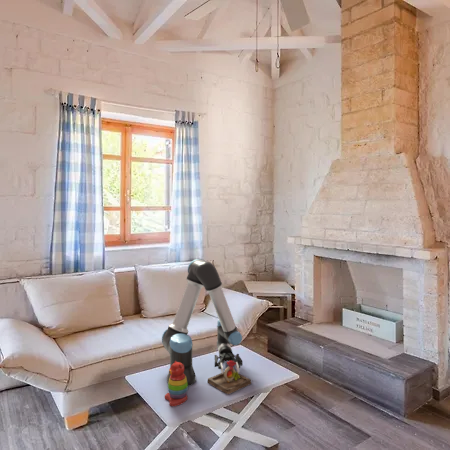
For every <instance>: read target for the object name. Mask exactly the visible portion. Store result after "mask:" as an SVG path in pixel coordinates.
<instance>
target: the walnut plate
mask: <svg viewBox="0 0 450 450" xmlns="http://www.w3.org/2000/svg"><path fill="white" fill-rule="evenodd" d="M230 371H232V370H230ZM238 375H239V376H240V378H238V379H237V380H235V379H234V378H233V380H231V381H230V382H229V383H228V382H227V381H226V380H225V378H224V371H223V373H221V372H220V373H218V374H216V375H214V376H211V377H208V378H207V384H209V385H211V386H213V387H214V388H216V389H218V390H219V391H220V392H223V393H225V394H226V395H230V394H232V393H235V392H236V391H239V390H241V389H244V388H245V387H248V386H250V385H252V380H251V379H250V378H248V377H247V376H244V375H243V374H240V373H238Z"/></svg>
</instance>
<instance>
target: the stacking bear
mask: <svg viewBox="0 0 450 450" xmlns="http://www.w3.org/2000/svg"><path fill="white" fill-rule="evenodd" d="M168 373H170V374H171V375H170V378H169V382H168V383H167V390H168V392H167V393H165V395H164V399H165V400H167V401H168V402H169V404H168V405H169V406H170V407H177V405H178V406H180V405H183V404H184V403H186V401H187V400H188V395H187V393H188V389H189V388H188V387H189V386H188V383H187V378H186V376H185V374H184V365H183V364H182V363H180V362H177V361H175V362H174V363H173V364H172V365H171V367H169V369H168Z"/></svg>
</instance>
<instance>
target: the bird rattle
mask: <svg viewBox="0 0 450 450" xmlns="http://www.w3.org/2000/svg"><path fill="white" fill-rule="evenodd" d="M226 364H227V367H226V368H225V369H224V370H223V372H224V378H225V380H226V381H227V382H228V383H229V382H230V381H231V380H233V378H234V379H235V380H237V379H238V378H240V376H239V375H238V374H239V373H238V372H237V370H236V369H235V366H236V363H235V362H234V361H232V360H230V361H226ZM230 370H232V371H230Z"/></svg>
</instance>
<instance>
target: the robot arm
mask: <svg viewBox="0 0 450 450" xmlns="http://www.w3.org/2000/svg"><path fill="white" fill-rule="evenodd" d="M185 280H186V282H187V284H186V287H185V289H184V291H183V295H182V298H181V300H180V303H179V305H178V308H177V311H176V312H175V316H174V319H173V322H172V323H169V325H168V328H167V329H166V330H165V331H163V333H162V335H161V344H162V346H163V348H164V349H165V350H166V351H167V353H168V354H169V363H170V364H169V365H170V367H171V365H172V364H173V363H174V362H175V361H177V362H180V363H182V364H183V365H184V374H185V376H186V378H187V383H188V387H189V386H192V385H193V384H195V383H196V380H197V377H196V371H195V369H194V366H193V345H194V344H193V338H192V336H190V335H189V329H188V327H189V324H190V321H191V318H192V315H193V312H194V310H195V308H196V304H197V302H198V299H199V296H200V294H201V291H202V289H203V288H204V289H205V291H206V292H207V293H208V294H209V297H210V300H211V302H212V305H213V308H214V310H215V313H216V314H217V318H218V320H217V323H216V324H217V325H216V328H217V330H216V331H217V332H216V333H217V338H216V339H217V341H216V347H217V351H218V355H217V354H214V368H218V370H220V373H223V372H224V366H223V364H224V363H225V362H228V361H230V360H232V361H234V362H235V363H236V365H235V368H236V369H235V370H236V372H238V374H240V369H241V367H242V366H243V359H242V358H241V356H240V354H239V353H237V354H234V353H233V350H232V346H238V345H240V344H241V342H242V341H243V335H242V334H241V332H240V331H239V330H238V328H237V325H236V323H235V319H234V317H233V315H232V312H231V309H230V306H229V305H228V302H227V299H226V297H225V294H224V291H223V289H222V285H223V283H222V280H221V278H220V275H219V272H218V270H217V268H216V266H215V265H214V264H213V263H211V262H209V261H207V260H204V259H201V258H200V259H199V258H196V259H193V260H191V262H190V263H189V264H188V266H187V276H186V279H185ZM231 345H232V346H231ZM170 367H169V368H170ZM170 375H171V374H170V373H169V372H168V374H167V377H166V383H167V384H168V382H169V378H170Z"/></svg>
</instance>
